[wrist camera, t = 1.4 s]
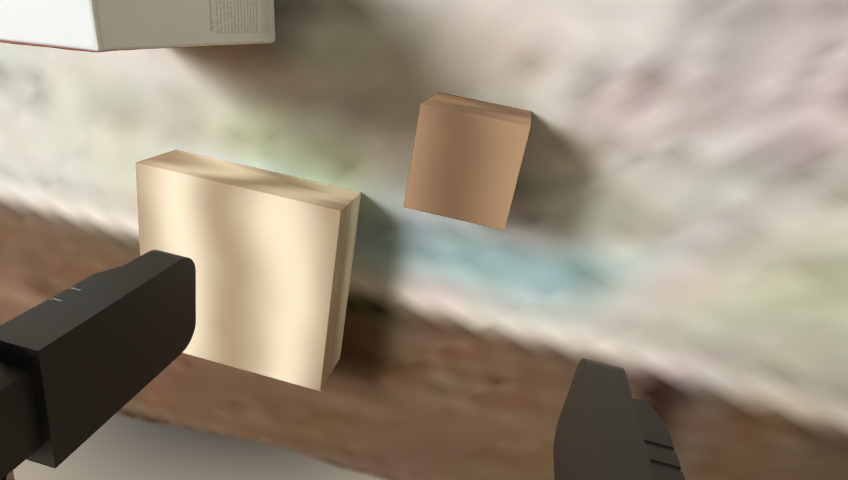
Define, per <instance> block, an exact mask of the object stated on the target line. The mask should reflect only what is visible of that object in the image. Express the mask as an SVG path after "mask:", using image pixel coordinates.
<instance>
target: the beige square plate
mask: <svg viewBox="0 0 848 480" xmlns="http://www.w3.org/2000/svg"><path fill="white" fill-rule="evenodd" d="M136 178H137V199H138V219H139V240H140V256H142V255H143V254H145V253H147V252H149V251H151V250H160V251H164V252H168V253H172V254H176V255H180V256H184V257H188V258H190V259H192V260H193V262H194V264H195V268H196V325H195V330H194V334H193V337H192V339H191V341H190V343H189V345H188V346H187V348H186V349H185V350H184V351H183V352H182V353H186V354H189V355H193V356H197V357H200V358H204V359H207V360H211V361H214V362H218V363H222V364H225V365H229V366H232V367H236V368H239V369H243V370H247V371H250V372H254V373H257V374H261V375H264V376H268V377H272V378H275V379H279V380H282V381H286V382H289V383H293V384H297V385H300V386H304V387H307V388H311V389H315V390H318V391H320V390H321V389H322V387H323V385H324V384H325V382H326V380H327V379H328V377H329V375H330V374H331V372H332V370H333V369H334V367H335V366H336V364H337V362H338V361H339V359H340V355H341V347H342V339H343V332H344V324H345V316H346V308H347V301H348V293H349V285H350V277H351V270H352V262H353V254H354V246H355V239H356V231H357V223H358V215H359V208H360V200H361V192H358V191H354V190H350V189H345V188H341V187H337V186H332V185H328V184H324V183H319V182H315V181H310V180H306V179H302V178H297V177H293V176H289V175H284V174H280V173H276V172H271V171H267V170H262V169H258V168H254V167H249V166H245V165H241V164H236V163H232V162H228V161H223V160H219V159H215V158H210V157H206V156H201V155H197V154H193V153H188V152H184V151H180V150H174V151H171V152H167V153H164V154H161V155H158V156H155V157H152V158H149V159H145V160H142V161H139V162H136Z"/></svg>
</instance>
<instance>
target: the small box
mask: <svg viewBox="0 0 848 480" xmlns="http://www.w3.org/2000/svg"><path fill="white" fill-rule="evenodd" d="M274 41H275V12H274V0H0V42H3V43H11V44H21V45H31V46H41V47H51V48H60V49H67V50H78V51H89V52H105V51H117V50H136V49H155V48H177V47H195V46H216V45H240V44H267V43H274Z"/></svg>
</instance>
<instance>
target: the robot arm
mask: <svg viewBox="0 0 848 480" xmlns="http://www.w3.org/2000/svg"><path fill="white" fill-rule="evenodd" d="M195 325H196V268H195V264H194V262H193V260H192V259H190V258H188V257H184V256H180V255H176V254H172V253H168V252H164V251H160V250H151V251H149V252H147V253H145V254H143V255H142V256H140V257H138V258H136V259H135V260H133V261H131V262H129V263H128V264H126V265H124V266H121V267H117V268H114V269H110V270H107V271H103V272H100V273H96V274H94V275H92V276H90V277H88V278H86V279H85V280H83V281H81V282H79V283H77V284H75V285H74V286H72V288H71V290H70V289H66V290H65V291H63V292H61V293H59V294H57V295H55V296H54V297H53V299H52V300H46V301H45V302H43V303H41V304H39V305H37V306H35V307H34V308H32V309H30V310H28V311H26V312H24V313H23V314H21V315H19V316H17V317H15V318H14V319H12V320H10V321H8V322H6V323H4V324H3V325H1V326H0V480H15V479H14V474H13V469H15V468H16V467H17V466H18V465H20V464H21V463H22V462H23V461H24V460H25V459H27V460H30V461H33V462H36V463H40V464H43V465H46V466H49V467H53V468H56V467H57V466H58V465H59V464H61V463H62V462H63V461H64V460H65V459H66V458H67V457H68V456H69V455H70V454H72V453H73V452H74V451H75V450H76V449H77V448H78V447H79V446H80V445H81V444H82V443H84V442H85V441H86V440H87V439H88V438H89V437H90V436H91V435H92V434H93V433H94V432H96V431H97V430H98V429H99V428H100V427H101V426H102V425H103V424H104V423H106V422H107V421H108V420H109V419H110V418H111V417H112V416H113V415H114V414H115V413H117V412H118V411H119V410H120V409H121V408H122V407H123V406H124V405H125V404H126V403H127V402H129V401H130V400H131V399H132V398H133V397H134V396H135V395H136V394H137V393H138V392H140V391H141V390H142V389H143V388H144V387H145V386H146V385H147V384H148V383H149V382H151V381H152V380H153V379H154V378H155V377H156V376H157V375H158V374H159V373H160V372H161V371H163V370H164V369H165V368H166V367H167V366H168V365H169V364H170V363H171V362H172V361H174V360H175V359H176V358H177V357H178V356H179V355H180V354H181V353H182V352H183V351H184V350H185V349H186V348H187V346H188V345H189V343H190V341H191V339H192V337H193V334H194V330H195ZM553 454H554V474H555V480H685V478H684V475H683V472H680V469H681V466H680V463H679V460H678V457H677V455H676V452H674V446H673V443H672V440H671V437H670V434H669V431H668V428H667V426H666V424H665V423H664V421H663V420H662V419H661V418H660V416H659V415H658V414H657V413H656V412H655V410H654V409H653V408H652V407H651V405H650V404H649V403H648V402H645V401H641V400H638V399H634V398H632V395H631V391H630V388H629V384H628V381H627V377H626V373H625V371H624V369H623V368H620V367H616V366H612V365H608V364H604V363H600V362H596V361H592V360H589V359H585V358H583V359H582V360H581V361H580V362H579V364H578V367H577V369H576V372H575V375H574V378H573V381H572V384H571V386H570V389H569V392H568V395H567V398H566V401H565V404H564V406H563V409H562V412H561V415H560V418H559V421H558V424H557V428H556V433H555V439H554V451H553Z"/></svg>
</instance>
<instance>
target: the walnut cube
mask: <svg viewBox="0 0 848 480" xmlns="http://www.w3.org/2000/svg"><path fill="white" fill-rule="evenodd" d="M530 127H531V111H527V110H522V109H518V108H513V107H508V106H503V105H498V104H493V103H488V102H483V101H478V100H473V99H468V98H464V97H459V96H454V95H449V94H444V93H437V94H435V95H434V96H432V97H431V98H429V99H427V100H426V101H424V102H422V103H421V104H420V110H419V116H418V122H417V128H416V134H415V140H414V146H413V152H412V158H411V164H410V170H409V176H408V182H407V188H406V195H405V201H404V207H406V208H410V209H414V210H419V211H423V212H427V213H432V214H436V215H440V216H445V217H449V218H453V219H457V220H462V221H466V222H470V223H475V224H479V225H483V226H488V227H492V228H496V229H501V230H505V227H506V223H507V219H508V215H509V211H510V207H511V203H512V199H513V195H514V191H515V187H516V183H517V179H518V175H519V171H520V167H521V163H522V159H523V155H524V151H525V147H526V143H527V139H528V135H529V131H530Z"/></svg>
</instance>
